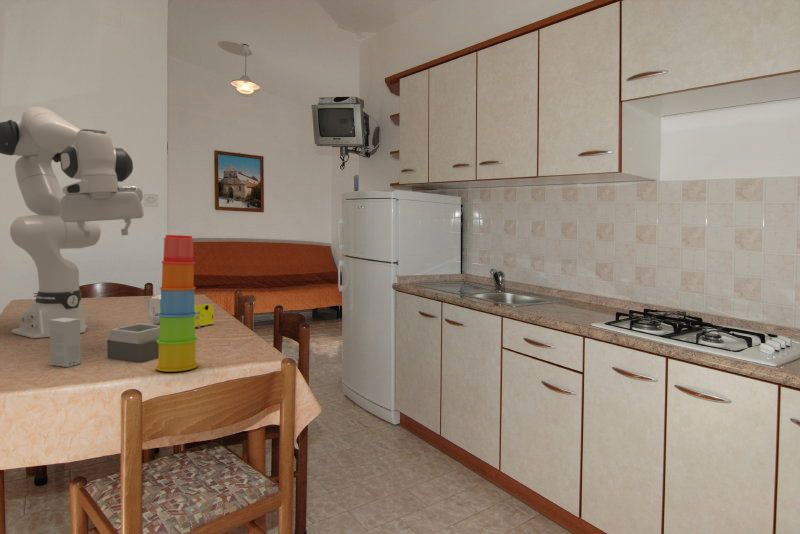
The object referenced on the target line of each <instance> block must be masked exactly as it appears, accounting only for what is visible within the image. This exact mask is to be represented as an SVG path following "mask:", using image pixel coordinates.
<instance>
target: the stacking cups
mask: <svg viewBox="0 0 800 534" xmlns="http://www.w3.org/2000/svg"><path fill="white" fill-rule="evenodd" d="M160 263H162V267H161V270H162V271H161V273H162V274H161V286H160V287H159V289H160V296H161V313H159V314H158V316H160V332H159V339H158V340H157V343H159V357H158V363H157V365H155V370H157V371H159V372H167V373H171V372H174V373H175V372H184V371H185V372H186V371H189V370H193V369H196V368H198V367H199V362H198V361H196V360H197V357H196V354H197V353H196V342H197V341H198V340H199V338H198V337H197V336H196V327H195V315H196V314H197V313H196V312H194V306H195V290H196V289H197V287H196V286H195V285H194V283H195V278H194V277H195V276H194V274H195V273H194V272H195V271H194V266H195V264H196V261H194V238H193V236H192V235H181V234H176V235H175V234H165V237H164V238H163V260H161V261H160Z"/></svg>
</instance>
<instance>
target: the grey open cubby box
mask: <svg viewBox="0 0 800 534" xmlns="http://www.w3.org/2000/svg"><path fill="white" fill-rule="evenodd" d="M159 332H160V326H159V325H150V324H149V323H148V324H147V323H140V322H139V323H134V324H130V325H126V326H125V325H124V326H121V327H115V328H111V329H109V339H107V341H106V342H107V343H106V344H107V345H106V347H107V353H106V354H107V355H106V356H107V359H113V360H119V359H120V360H121V361H126V360H129V361H128V362H133V361H135V362H134V363H141V362H142V363H144V361H145V362H149V361H152V360H154V358H155V359H157V357H158V358H159V343H157V340H158V339H159ZM151 359H152V360H151Z"/></svg>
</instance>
